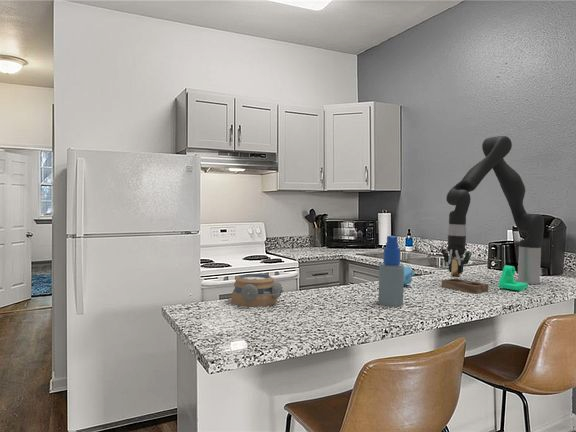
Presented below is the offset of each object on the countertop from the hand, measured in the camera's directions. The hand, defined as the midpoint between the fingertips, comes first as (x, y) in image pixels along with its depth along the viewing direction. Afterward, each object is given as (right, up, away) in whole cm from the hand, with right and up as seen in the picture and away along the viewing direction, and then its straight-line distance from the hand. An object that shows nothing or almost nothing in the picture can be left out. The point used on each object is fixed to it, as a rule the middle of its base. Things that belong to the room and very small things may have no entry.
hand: (455, 272), depth 187 cm
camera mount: (+25, -7, -1) cm, 27 cm away
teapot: (-26, -6, +3) cm, 27 cm away
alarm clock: (-86, -6, -35) cm, 93 cm away
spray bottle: (-37, -7, -32) cm, 50 cm away
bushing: (0, -2, 0) cm, 2 cm away
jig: (+3, -7, -3) cm, 8 cm away
